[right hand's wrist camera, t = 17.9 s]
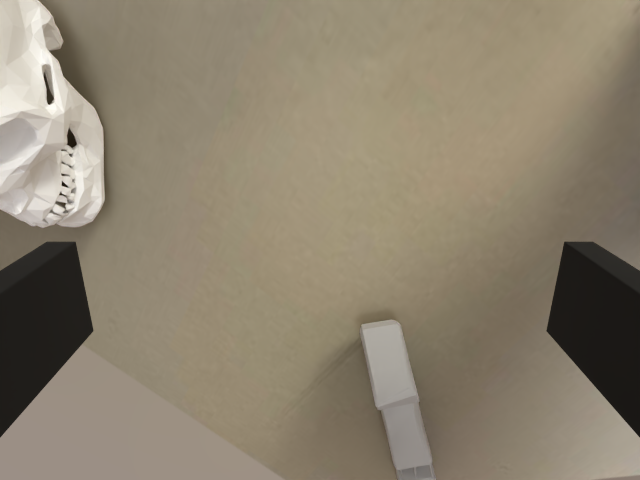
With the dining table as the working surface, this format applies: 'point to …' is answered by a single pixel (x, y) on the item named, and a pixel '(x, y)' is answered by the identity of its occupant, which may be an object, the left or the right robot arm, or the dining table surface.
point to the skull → (44, 126)
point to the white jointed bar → (397, 399)
